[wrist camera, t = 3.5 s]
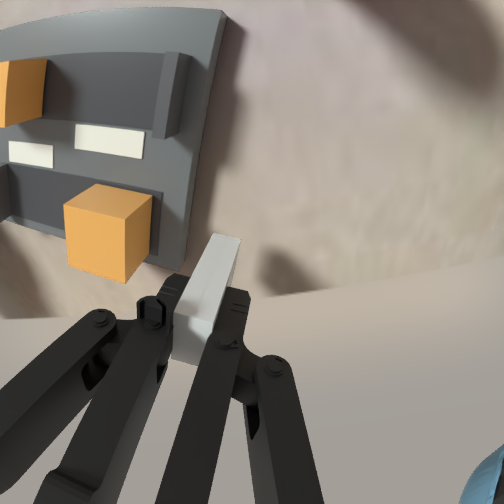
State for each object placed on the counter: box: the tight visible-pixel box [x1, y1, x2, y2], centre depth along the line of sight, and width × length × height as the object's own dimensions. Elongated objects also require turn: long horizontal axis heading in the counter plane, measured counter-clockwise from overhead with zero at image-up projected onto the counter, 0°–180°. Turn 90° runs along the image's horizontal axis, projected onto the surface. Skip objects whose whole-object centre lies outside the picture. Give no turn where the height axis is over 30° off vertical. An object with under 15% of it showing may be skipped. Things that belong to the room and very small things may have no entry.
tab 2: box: [63, 184, 153, 284], centre depth 17 cm, size 4×4×4 cm
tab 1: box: [0, 58, 47, 128], centre depth 13 cm, size 4×4×4 cm
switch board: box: [0, 7, 227, 271], centre depth 16 cm, size 20×16×4 cm
